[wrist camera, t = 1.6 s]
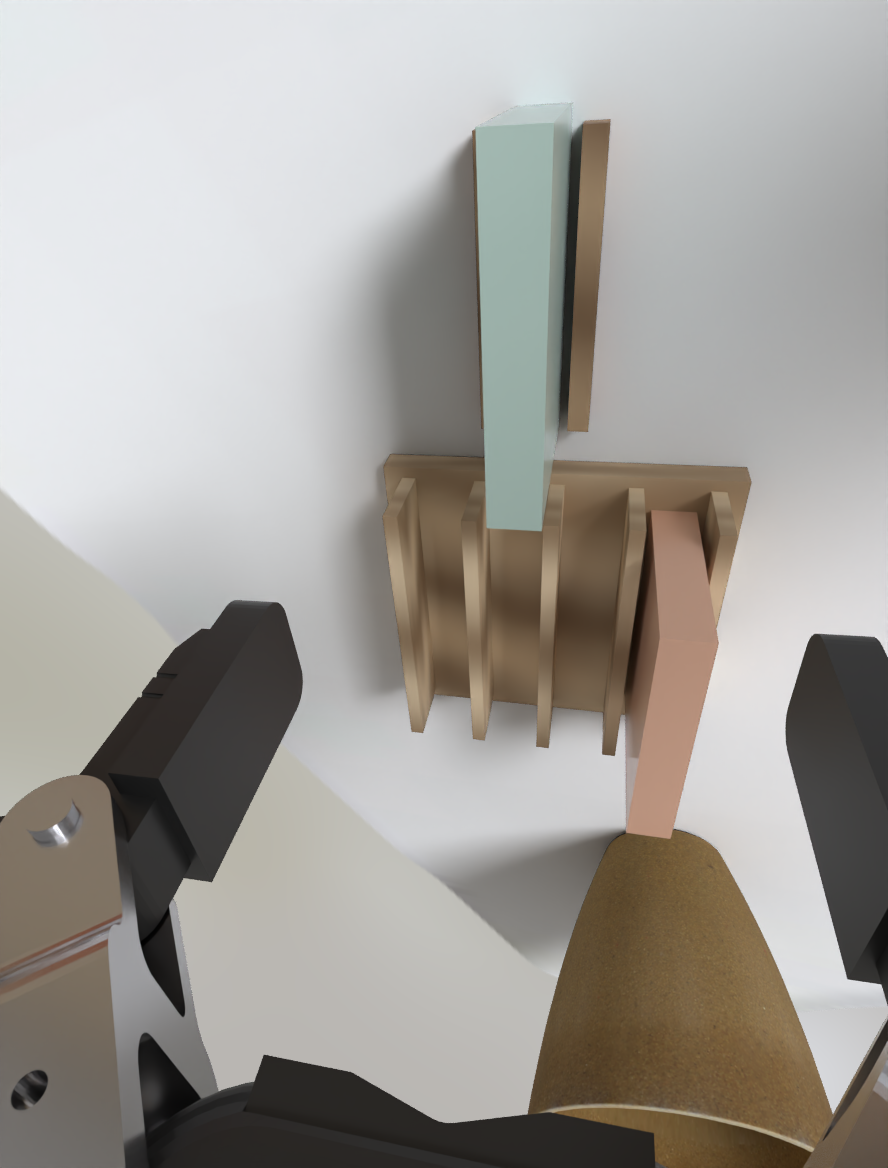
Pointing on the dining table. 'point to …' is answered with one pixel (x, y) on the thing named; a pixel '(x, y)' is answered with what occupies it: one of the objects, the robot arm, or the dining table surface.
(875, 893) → the robot arm
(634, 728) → the pink rectangular slab
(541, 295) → the green plate
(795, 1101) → the plant pot
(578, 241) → the stand rails
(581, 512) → the rack
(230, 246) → the dining table surface
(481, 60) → the dining table surface
